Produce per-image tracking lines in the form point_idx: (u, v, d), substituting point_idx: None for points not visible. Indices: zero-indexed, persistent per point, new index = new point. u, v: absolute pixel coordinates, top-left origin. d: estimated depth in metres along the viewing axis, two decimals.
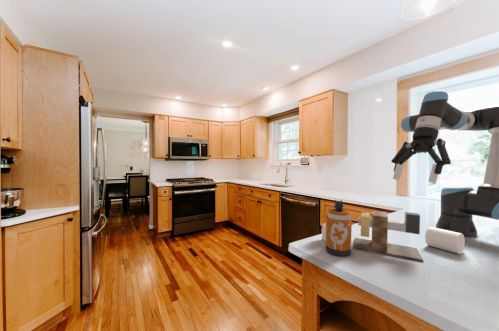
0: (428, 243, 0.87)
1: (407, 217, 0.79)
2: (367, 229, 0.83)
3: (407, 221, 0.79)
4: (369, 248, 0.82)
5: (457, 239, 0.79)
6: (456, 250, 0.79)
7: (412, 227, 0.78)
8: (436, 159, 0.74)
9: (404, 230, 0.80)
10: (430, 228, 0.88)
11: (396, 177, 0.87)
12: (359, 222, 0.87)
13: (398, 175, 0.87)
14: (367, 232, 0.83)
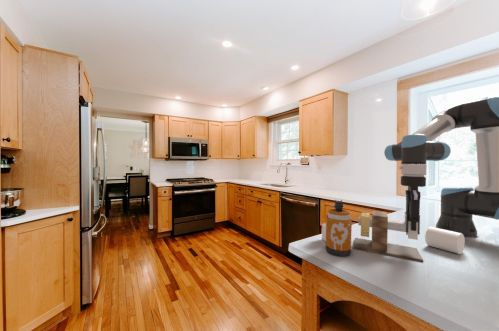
0: (428, 243, 0.87)
1: (407, 217, 0.79)
2: (367, 229, 0.83)
3: (407, 221, 0.79)
4: (369, 248, 0.82)
5: (457, 239, 0.79)
6: (456, 250, 0.79)
7: None
8: (409, 216, 0.77)
9: (404, 230, 0.80)
10: (430, 228, 0.88)
11: None
12: (359, 222, 0.87)
13: None
14: (367, 232, 0.83)
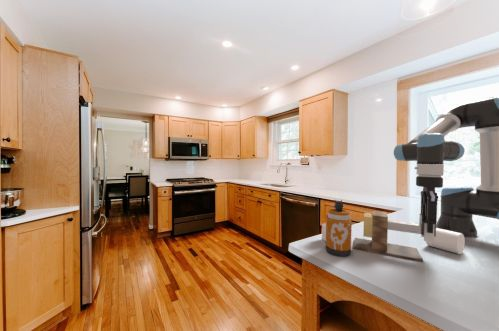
0: (428, 243, 0.87)
1: (422, 219, 0.76)
2: (370, 229, 0.83)
3: (422, 223, 0.76)
4: (369, 248, 0.82)
5: (457, 239, 0.79)
6: (456, 250, 0.79)
7: None
8: (425, 217, 0.75)
9: (419, 232, 0.77)
10: None
11: None
12: None
13: None
14: (370, 232, 0.83)
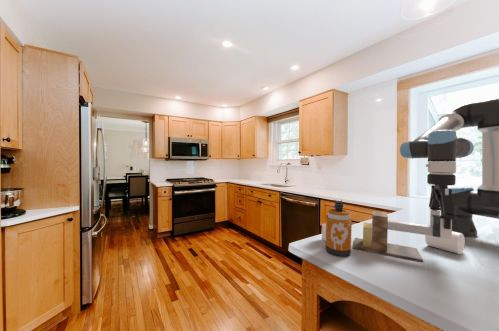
0: (428, 243, 0.87)
1: (434, 220, 0.75)
2: (369, 240, 0.83)
3: (434, 224, 0.75)
4: (369, 248, 0.82)
5: (457, 239, 0.79)
6: (456, 250, 0.79)
7: None
8: (441, 213, 0.70)
9: (431, 234, 0.76)
10: None
11: None
12: None
13: None
14: (369, 243, 0.83)
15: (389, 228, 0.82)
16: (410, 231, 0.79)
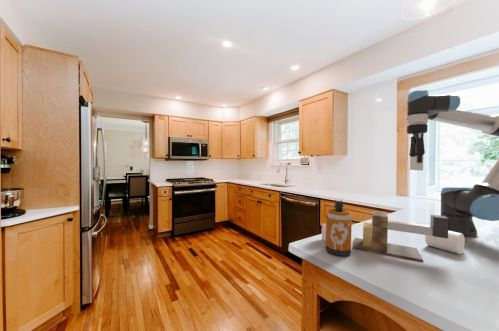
0: (428, 243, 0.87)
1: (434, 220, 0.75)
2: (369, 240, 0.83)
3: (434, 224, 0.75)
4: (369, 248, 0.82)
5: (457, 239, 0.79)
6: (456, 250, 0.79)
7: (440, 231, 0.74)
8: (416, 151, 0.92)
9: (431, 234, 0.76)
10: None
11: (412, 168, 1.04)
12: None
13: (414, 166, 1.03)
14: (369, 243, 0.83)
15: (389, 228, 0.82)
16: (410, 231, 0.79)
